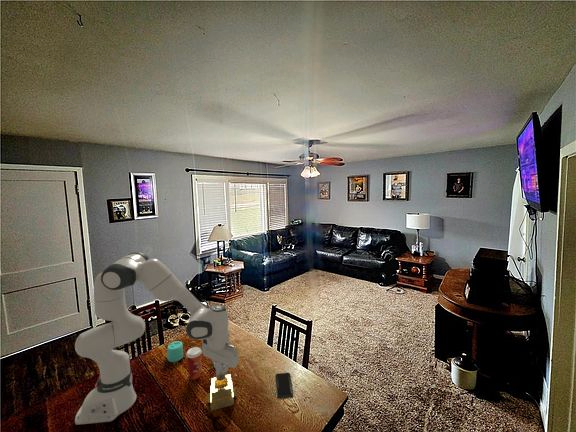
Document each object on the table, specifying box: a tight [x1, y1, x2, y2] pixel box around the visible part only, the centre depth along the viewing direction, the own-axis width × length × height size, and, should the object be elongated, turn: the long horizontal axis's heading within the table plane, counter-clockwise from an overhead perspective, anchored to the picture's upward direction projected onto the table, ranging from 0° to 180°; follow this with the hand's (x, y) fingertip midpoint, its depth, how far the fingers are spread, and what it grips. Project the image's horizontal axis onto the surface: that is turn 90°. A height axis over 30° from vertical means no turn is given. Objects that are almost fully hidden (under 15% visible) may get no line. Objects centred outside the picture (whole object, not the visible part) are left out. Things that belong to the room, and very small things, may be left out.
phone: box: [274, 372, 294, 399], centre depth 125 cm, size 8×1×15 cm
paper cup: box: [185, 346, 203, 380], centre depth 131 cm, size 8×8×14 cm
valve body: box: [206, 374, 237, 411], centre depth 116 cm, size 13×10×8 cm
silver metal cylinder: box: [215, 360, 227, 381], centre depth 115 cm, size 4×4×9 cm
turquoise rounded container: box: [166, 340, 184, 363], centre depth 146 cm, size 8×8×8 cm
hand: (220, 369), depth 115 cm, fingers closed on silver metal cylinder, 4 cm apart
